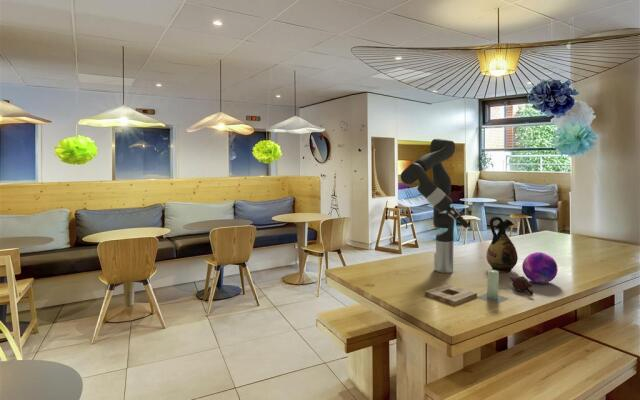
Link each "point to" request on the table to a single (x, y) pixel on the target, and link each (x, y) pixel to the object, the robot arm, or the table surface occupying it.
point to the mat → (499, 300)
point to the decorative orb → (539, 267)
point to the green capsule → (492, 284)
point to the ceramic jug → (501, 248)
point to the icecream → (521, 284)
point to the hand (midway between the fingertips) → (465, 225)
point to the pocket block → (450, 294)
